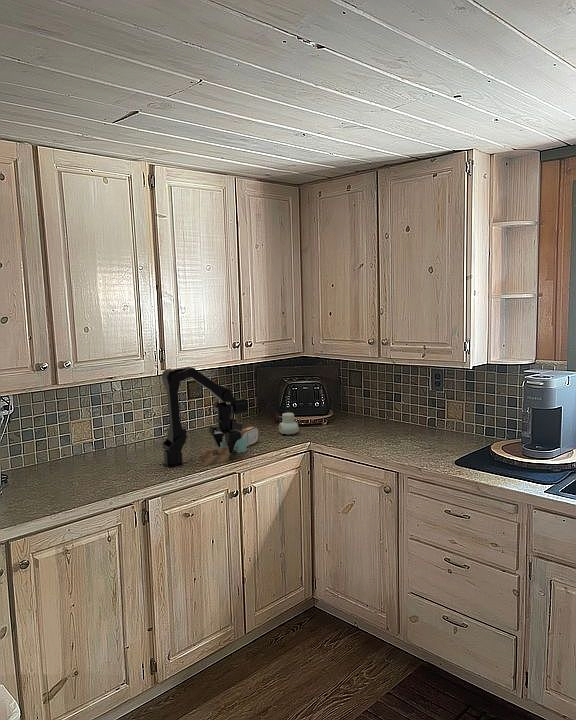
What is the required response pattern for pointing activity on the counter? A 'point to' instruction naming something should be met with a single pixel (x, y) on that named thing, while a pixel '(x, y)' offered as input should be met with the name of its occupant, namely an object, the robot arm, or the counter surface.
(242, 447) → the notched teal slat
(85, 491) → the counter surface
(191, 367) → the robot arm
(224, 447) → the notched walnut block
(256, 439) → the tin
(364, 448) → the counter surface
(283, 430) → the air freshener
